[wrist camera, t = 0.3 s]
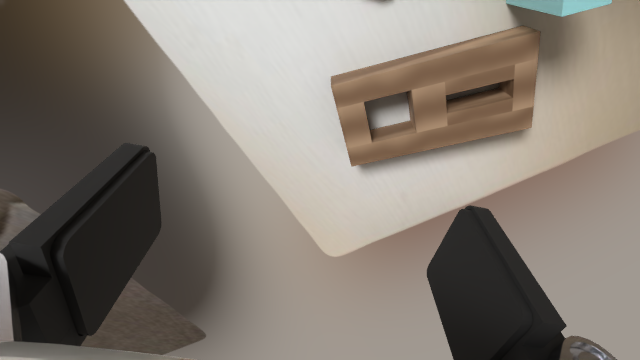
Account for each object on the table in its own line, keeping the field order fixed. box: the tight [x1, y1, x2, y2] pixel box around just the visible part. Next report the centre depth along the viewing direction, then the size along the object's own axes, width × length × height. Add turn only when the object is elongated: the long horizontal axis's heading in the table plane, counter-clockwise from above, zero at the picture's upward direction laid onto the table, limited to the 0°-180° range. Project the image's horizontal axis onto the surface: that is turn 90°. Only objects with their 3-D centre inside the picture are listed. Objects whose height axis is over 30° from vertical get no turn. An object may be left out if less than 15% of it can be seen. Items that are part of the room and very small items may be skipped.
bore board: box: [331, 26, 540, 166], centre depth 43 cm, size 12×24×4 cm, turn 105°
